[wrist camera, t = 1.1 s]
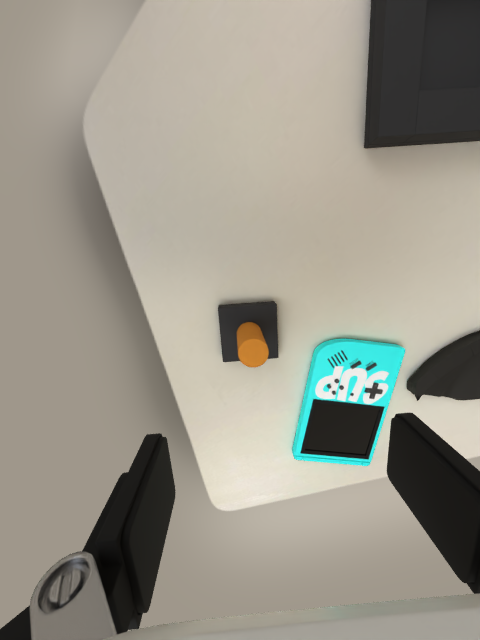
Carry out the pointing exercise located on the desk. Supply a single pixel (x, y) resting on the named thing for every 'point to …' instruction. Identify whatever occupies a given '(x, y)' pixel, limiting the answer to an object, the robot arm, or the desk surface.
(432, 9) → the base pad
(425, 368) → the curved wedge
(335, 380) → the handheld game console
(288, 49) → the desk surface
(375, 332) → the desk surface
